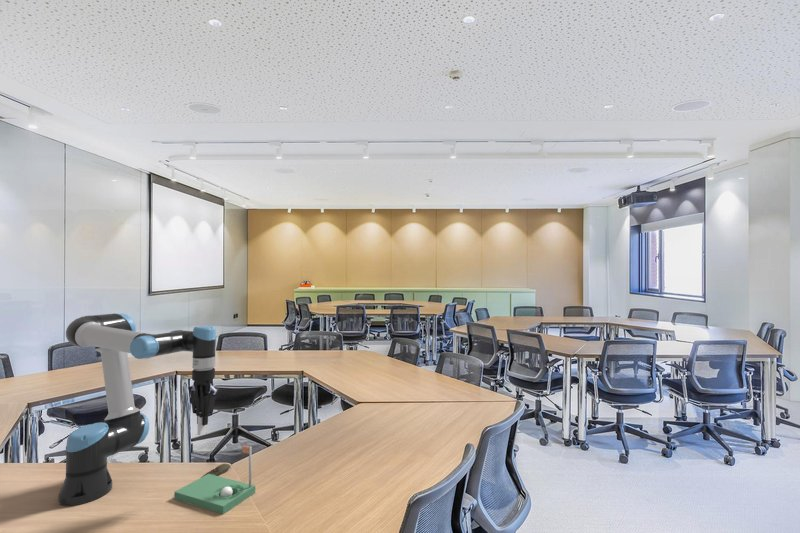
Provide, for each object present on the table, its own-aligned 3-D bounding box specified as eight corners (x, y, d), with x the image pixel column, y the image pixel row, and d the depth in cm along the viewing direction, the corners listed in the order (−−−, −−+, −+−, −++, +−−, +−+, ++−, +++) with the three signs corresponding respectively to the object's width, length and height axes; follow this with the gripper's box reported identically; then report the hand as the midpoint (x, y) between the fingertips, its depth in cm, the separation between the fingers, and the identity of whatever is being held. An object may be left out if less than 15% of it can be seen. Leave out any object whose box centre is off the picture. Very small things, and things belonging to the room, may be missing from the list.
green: (174, 499, 135) (175, 451, 136) (208, 480, 148) (209, 436, 148) (223, 514, 125) (223, 462, 126) (255, 492, 138) (255, 446, 139)
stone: (223, 467, 159) (223, 461, 159) (232, 469, 157) (232, 463, 157) (196, 482, 147) (196, 476, 147) (205, 485, 145) (205, 479, 145)
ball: (215, 495, 134) (221, 487, 133) (225, 489, 138) (230, 481, 137) (222, 504, 132) (227, 496, 132) (231, 498, 136) (236, 490, 135)
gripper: (182, 368, 140) (180, 434, 139) (207, 372, 135) (206, 440, 134) (200, 365, 147) (198, 427, 146) (225, 368, 142) (223, 432, 141)
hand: (202, 433), depth 140 cm, fingers closed
